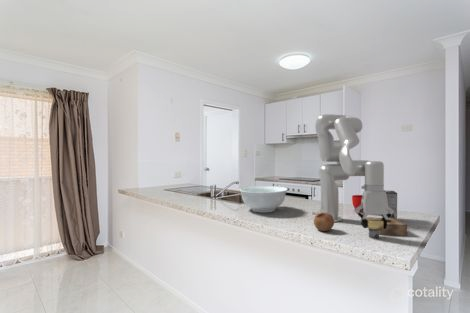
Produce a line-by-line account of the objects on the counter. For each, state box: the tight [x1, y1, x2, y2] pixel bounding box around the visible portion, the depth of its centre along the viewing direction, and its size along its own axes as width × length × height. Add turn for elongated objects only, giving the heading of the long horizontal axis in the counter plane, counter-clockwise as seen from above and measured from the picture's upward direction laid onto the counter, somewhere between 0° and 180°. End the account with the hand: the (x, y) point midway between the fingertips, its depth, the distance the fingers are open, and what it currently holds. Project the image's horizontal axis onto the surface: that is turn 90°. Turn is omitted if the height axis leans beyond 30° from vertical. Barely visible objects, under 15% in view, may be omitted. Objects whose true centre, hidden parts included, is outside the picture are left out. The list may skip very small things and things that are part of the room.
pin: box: [365, 216, 384, 240], centre depth 114 cm, size 8×8×8 cm
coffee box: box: [381, 189, 398, 220], centre depth 145 cm, size 9×6×16 cm
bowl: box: [239, 185, 288, 214], centre depth 169 cm, size 32×32×15 cm
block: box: [379, 217, 408, 237], centre depth 123 cm, size 12×12×5 cm
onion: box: [313, 213, 335, 232], centre depth 124 cm, size 10×9×10 cm
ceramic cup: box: [351, 194, 363, 214], centre depth 163 cm, size 13×17×10 cm
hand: (374, 227), depth 114 cm, fingers closed on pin, 7 cm apart
